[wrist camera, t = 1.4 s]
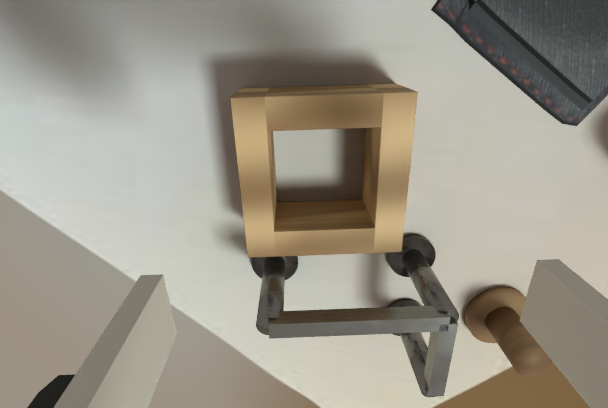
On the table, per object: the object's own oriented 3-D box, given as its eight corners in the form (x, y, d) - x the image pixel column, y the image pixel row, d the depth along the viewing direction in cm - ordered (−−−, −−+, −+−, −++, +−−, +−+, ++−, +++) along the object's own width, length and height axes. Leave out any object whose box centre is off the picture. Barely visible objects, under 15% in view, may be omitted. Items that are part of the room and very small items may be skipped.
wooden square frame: (241, 88, 25) (230, 98, 21) (395, 83, 25) (417, 92, 21) (254, 224, 30) (247, 257, 25) (384, 220, 30) (401, 251, 25)
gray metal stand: (250, 240, 30) (235, 308, 23) (435, 233, 31) (484, 299, 23) (260, 336, 35) (250, 421, 27) (421, 330, 35) (458, 412, 27)
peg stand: (469, 288, 33) (504, 336, 28) (533, 285, 33) (580, 333, 28) (459, 336, 36) (489, 389, 30) (518, 334, 36) (559, 386, 30)
